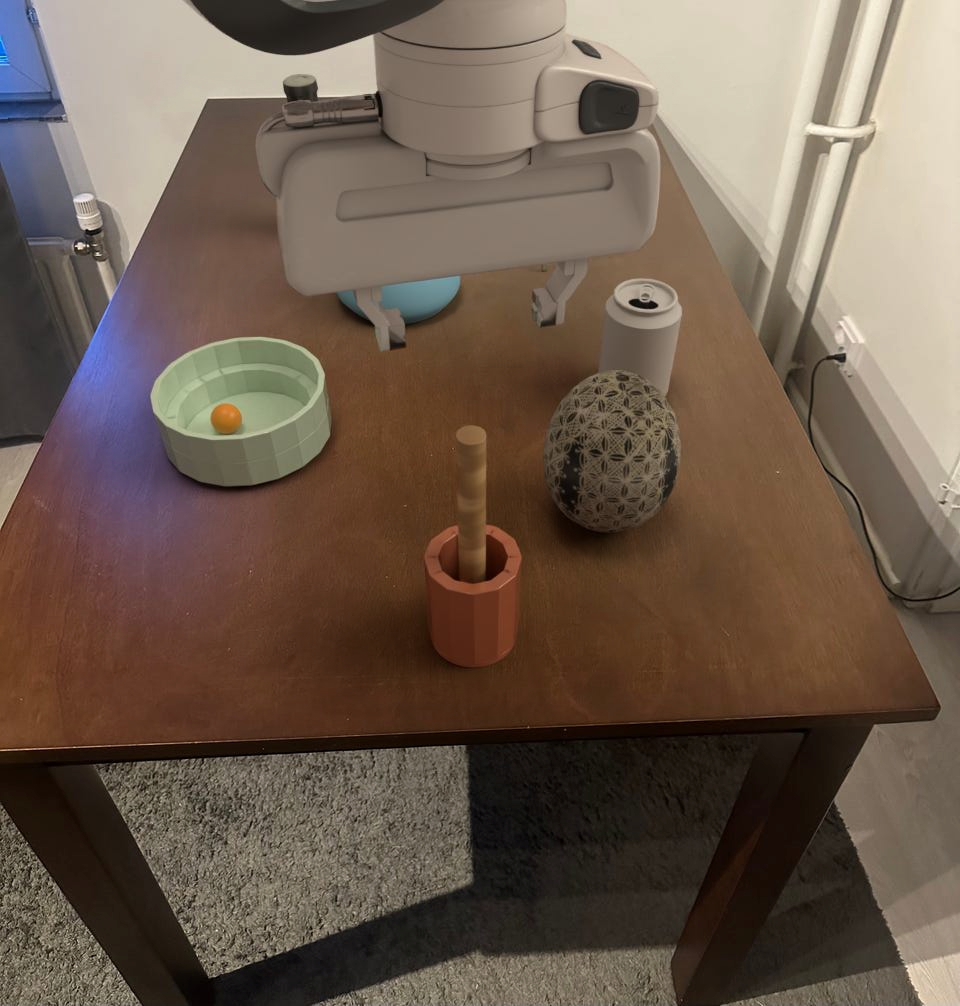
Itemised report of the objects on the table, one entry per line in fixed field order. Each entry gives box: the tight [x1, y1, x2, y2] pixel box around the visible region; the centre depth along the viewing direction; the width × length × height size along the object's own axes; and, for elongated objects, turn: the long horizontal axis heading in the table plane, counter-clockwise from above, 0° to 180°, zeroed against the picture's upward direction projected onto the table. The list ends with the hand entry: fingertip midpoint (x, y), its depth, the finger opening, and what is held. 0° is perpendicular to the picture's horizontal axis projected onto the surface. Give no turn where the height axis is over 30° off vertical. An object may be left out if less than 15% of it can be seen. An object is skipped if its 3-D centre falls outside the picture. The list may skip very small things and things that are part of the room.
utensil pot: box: [423, 524, 523, 668], centre depth 69 cm, size 7×7×9 cm
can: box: [597, 277, 683, 397], centre depth 90 cm, size 8×8×12 cm
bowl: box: [149, 336, 333, 487], centre depth 87 cm, size 16×16×6 cm
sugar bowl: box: [335, 276, 461, 325], centre depth 104 cm, size 15×15×12 cm
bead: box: [210, 403, 242, 434], centre depth 88 cm, size 3×3×3 cm
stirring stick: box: [455, 424, 487, 584], centre depth 65 cm, size 2×2×20 cm
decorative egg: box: [542, 370, 682, 534], centre depth 76 cm, size 12×12×15 cm
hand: (470, 332), depth 52 cm, fingers open, 8 cm apart
